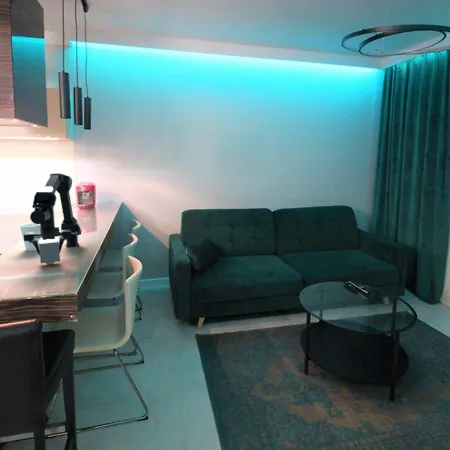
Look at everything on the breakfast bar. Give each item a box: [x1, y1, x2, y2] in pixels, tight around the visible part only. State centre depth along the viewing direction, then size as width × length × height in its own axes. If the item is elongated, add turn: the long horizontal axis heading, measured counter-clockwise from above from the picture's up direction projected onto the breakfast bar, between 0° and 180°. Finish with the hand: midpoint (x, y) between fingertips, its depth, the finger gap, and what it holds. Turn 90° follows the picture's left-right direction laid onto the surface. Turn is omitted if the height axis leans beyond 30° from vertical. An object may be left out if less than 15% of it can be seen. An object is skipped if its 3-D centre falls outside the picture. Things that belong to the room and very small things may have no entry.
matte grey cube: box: [39, 237, 61, 264], centre depth 153 cm, size 8×8×9 cm
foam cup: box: [19, 222, 42, 252], centre depth 177 cm, size 10×9×13 cm
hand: (49, 253), depth 153 cm, fingers closed on matte grey cube, 8 cm apart
